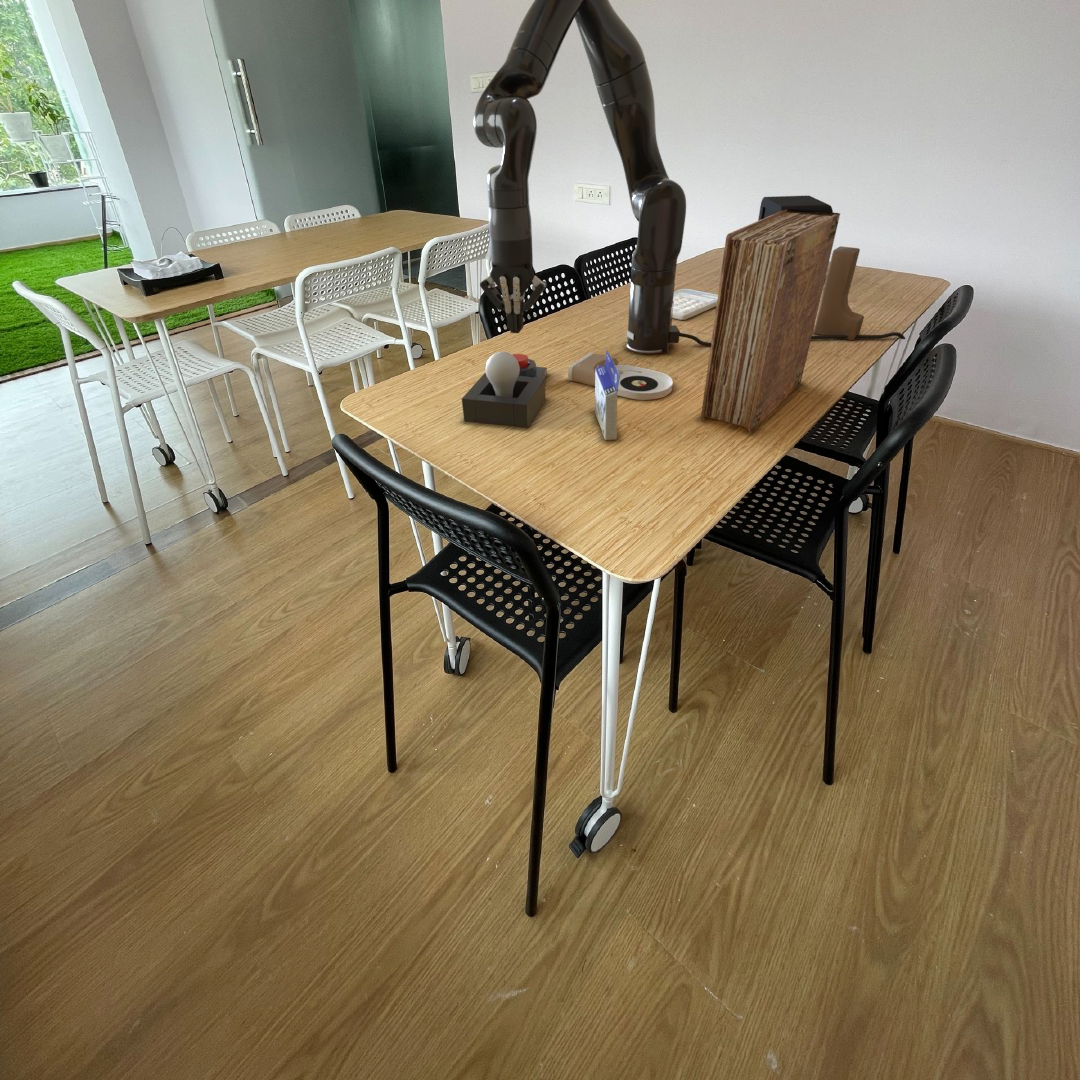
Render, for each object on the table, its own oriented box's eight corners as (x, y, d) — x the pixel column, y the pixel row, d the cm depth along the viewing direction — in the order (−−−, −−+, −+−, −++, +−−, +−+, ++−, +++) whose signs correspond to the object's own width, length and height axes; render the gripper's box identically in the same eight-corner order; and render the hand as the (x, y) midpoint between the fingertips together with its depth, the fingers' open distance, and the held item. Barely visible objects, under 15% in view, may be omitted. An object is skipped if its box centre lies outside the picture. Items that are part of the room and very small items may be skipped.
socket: (545, 400, 118) (545, 377, 115) (527, 428, 109) (526, 404, 106) (486, 395, 121) (484, 372, 118) (464, 421, 111) (461, 398, 109)
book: (749, 433, 105) (787, 241, 87) (699, 420, 109) (725, 234, 91) (800, 383, 121) (841, 212, 103) (755, 373, 125) (786, 208, 107)
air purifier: (820, 285, 174) (838, 205, 162) (768, 286, 175) (783, 207, 163) (797, 267, 191) (812, 194, 179) (749, 268, 191) (762, 195, 179)
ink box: (593, 412, 113) (594, 350, 106) (605, 411, 113) (608, 349, 106) (603, 441, 104) (606, 376, 97) (617, 440, 104) (620, 375, 97)
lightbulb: (517, 418, 112) (514, 359, 105) (485, 416, 113) (479, 358, 106) (524, 404, 117) (522, 347, 110) (493, 402, 118) (489, 345, 111)
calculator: (639, 311, 160) (640, 303, 159) (683, 293, 171) (684, 286, 170) (683, 321, 153) (684, 313, 152) (725, 302, 164) (727, 295, 163)
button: (531, 362, 125) (530, 354, 124) (524, 371, 122) (524, 362, 121) (510, 361, 126) (509, 352, 125) (503, 369, 123) (503, 360, 122)
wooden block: (859, 335, 141) (883, 250, 131) (853, 341, 139) (877, 254, 128) (819, 328, 146) (839, 245, 135) (812, 333, 143) (832, 249, 132)
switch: (547, 375, 128) (546, 358, 126) (536, 390, 122) (535, 373, 119) (501, 371, 130) (500, 355, 128) (488, 386, 124) (487, 369, 122)
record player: (594, 350, 130) (683, 369, 121) (594, 364, 132) (681, 384, 122) (565, 368, 122) (657, 390, 113) (564, 383, 124) (655, 406, 115)
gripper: (552, 230, 111) (553, 327, 121) (482, 229, 114) (490, 323, 124) (540, 239, 105) (543, 340, 115) (468, 237, 108) (477, 336, 118)
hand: (515, 331), depth 120 cm, fingers closed
